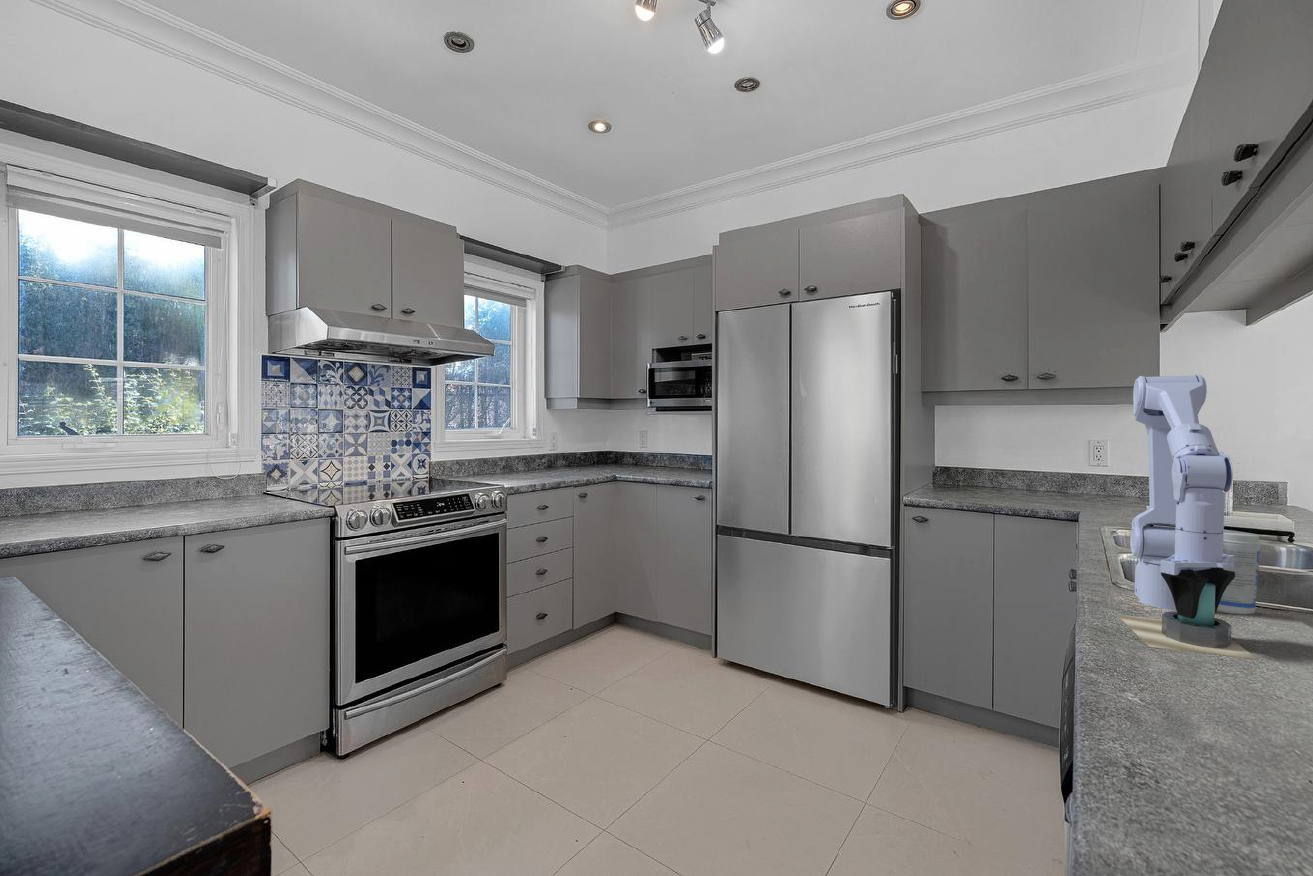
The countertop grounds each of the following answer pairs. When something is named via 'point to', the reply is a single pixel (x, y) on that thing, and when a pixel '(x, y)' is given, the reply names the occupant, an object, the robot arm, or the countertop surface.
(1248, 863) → the countertop surface
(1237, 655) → the pale board
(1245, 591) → the supplement tub
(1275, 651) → the countertop surface
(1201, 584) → the robot arm
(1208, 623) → the teal plug
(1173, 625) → the grey faceted ring
